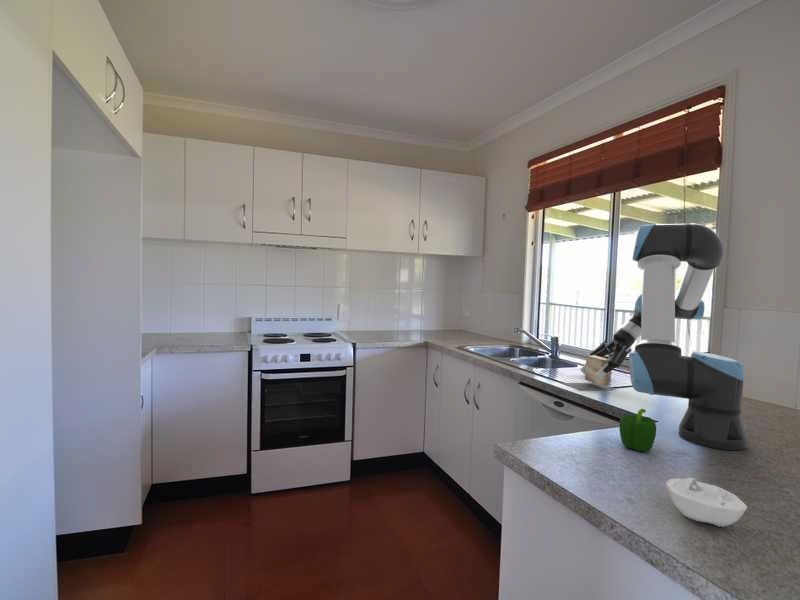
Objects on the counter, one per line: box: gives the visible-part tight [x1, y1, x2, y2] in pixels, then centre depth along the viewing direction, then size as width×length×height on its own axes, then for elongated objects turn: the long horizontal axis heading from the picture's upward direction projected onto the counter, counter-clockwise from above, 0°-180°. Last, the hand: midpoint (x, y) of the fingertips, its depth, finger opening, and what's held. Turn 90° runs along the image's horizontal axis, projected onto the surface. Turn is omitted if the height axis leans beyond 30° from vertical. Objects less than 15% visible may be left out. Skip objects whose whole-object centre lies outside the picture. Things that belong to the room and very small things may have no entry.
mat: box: [562, 382, 616, 392], centre depth 172 cm, size 16×12×1 cm
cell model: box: [665, 477, 748, 528], centre depth 78 cm, size 10×12×7 cm
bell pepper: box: [618, 408, 657, 453], centre depth 110 cm, size 8×8×10 cm
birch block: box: [584, 355, 610, 386], centre depth 173 cm, size 4×9×10 cm, turn 12°
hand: (589, 374), depth 172 cm, fingers closed on birch block, 9 cm apart
